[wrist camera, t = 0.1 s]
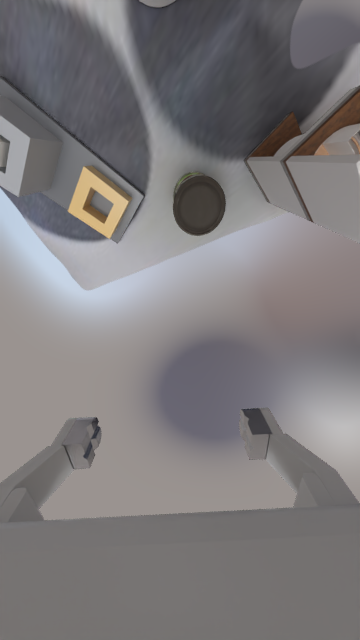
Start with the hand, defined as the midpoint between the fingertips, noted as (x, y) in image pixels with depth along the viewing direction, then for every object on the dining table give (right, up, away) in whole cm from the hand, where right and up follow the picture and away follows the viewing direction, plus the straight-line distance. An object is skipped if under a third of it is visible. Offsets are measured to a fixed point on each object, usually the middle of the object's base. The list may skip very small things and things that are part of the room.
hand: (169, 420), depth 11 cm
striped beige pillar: (+23, +42, +33) cm, 59 cm away
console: (-24, +39, +34) cm, 57 cm away
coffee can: (+4, +37, +37) cm, 53 cm away
